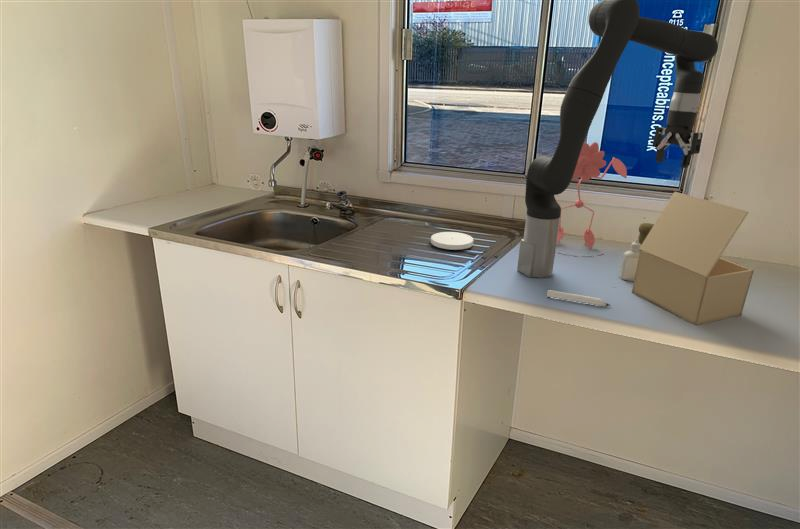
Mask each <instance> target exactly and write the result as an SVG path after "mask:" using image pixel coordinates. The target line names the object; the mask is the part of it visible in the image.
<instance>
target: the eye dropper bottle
mask: <svg viewBox="0 0 800 529" xmlns="http://www.w3.org/2000/svg"><path fill="white" fill-rule="evenodd" d="M630 244H631V245H630V250H627V251H625V252H624V253H623V255H622V260H621V265H620V270H619V275H618V277H619V278H620V279H621V280H624V281H629V282H630V281H631V282H632V281H633V282H634V279H635V274H636V269H637V264H638V259H639V254H640V249H639V248H640V246H641V244H640V243H639V239H638V238H635V240H634V242H631V243H630Z"/></svg>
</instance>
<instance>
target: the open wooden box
mask: <svg viewBox="0 0 800 529" xmlns="http://www.w3.org/2000/svg"><path fill="white" fill-rule="evenodd" d="M754 272H755V270H754V269H752V268H749V267H746V266H743V265H741V264H738V263H735V262H733V261H729V260H727V259H725V258H722V257H720V258H719V259H718V261H717V262H716V264H715V265H714V267H713V268H712V270H711V272H710V273H709V275H708V276H707V277H705V276H702V275H700V274H698V273H695V272H693V271H690V270H688V269H686V268H683V267H681V266H678V265H676V264H674V263H671V262H669V261H666V260H664V259H662V258H659V257H657V256H654V255H652V254H650V253H647V252H645V251H640V254H639V259H638V264H637V269H636V274H635V279H634V281H633V285H632V291H631V293H632V294H634V295H635V296H637V297H640V298H642V299H644V300H646V301H648V302H649V303H650V304H653V305H655V306H656V307H657V306H658V307H659V308H661V309H663V310H665V311H667V310H668V311H667V312H669V313H671V314H672V313H673V314H672V315H674V314H676V315H677V316H676V315H675V316H676V317H678V316H680V317H681V319H682V318H683V319H682V320H684V319H685V320H684V321H686V320H687V321H686V322H688V321H689V322H688V323H690V322H691V323H690V324H692V323H693V324H692V325H694V324H695V325H696V324H697V325H701V323H702V324H707V323H710V322H716V321H719V320H720V321H721V320H724V319H729V318H734V317H738V316H742V314H743V311H744V306H745V303H746V300H747V296H748V293H749V292H748V291H749V289H750V286H751V285H750V284H751V282H752V278H753V276H754ZM680 317H679V318H680ZM695 325H694V326H695Z"/></svg>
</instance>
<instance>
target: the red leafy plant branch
mask: <svg viewBox="0 0 800 529" xmlns="http://www.w3.org/2000/svg"><path fill="white" fill-rule="evenodd" d="M599 150H600V148H599V144H598V142H597V141H595V142H592V143H591V144H590V145H589V143H587V142H585V141H584V143H583V146H582V149H581V152H580V155H579V158H578V162H577V165H576V168H575V171H574V174H573V177H572V180H574V181H576V180H578V179H579V178H580V179H579V181H578V182H577V183H576V184H577V185H576V186H577V187H576V188H577V194H578V196H577V197H578V199H576V200H575V203H574V204H571V205H568V206H565V207H561V210H563V209H567V208H570V207H574V206H575V207H576V208H578V209H581V208H583V207H584V208H585V209H587V210H589V211H591V212H592V216H591V219H590V223H589V227H588V228H586V229H585V230H584V233H583V240H584V245H585V244H586V245H587V247H588V248H590V250H592V249H593V247H594V244H595V234H594V233H593V231H592V230H591V226H592V222H593V219H594V218H593V217H594V214H595V211H594V210H593V209H590V208H589V207H587V206H586V205H584V201H583V200H582V199H581V192H580V191H581V190H580V184H581V182H582V180H583V181H585V182H588V181H590V180H591V178H592V179H598V180H602V179H603V178H604V177H605V175H606V174H607V172H608V170H609V169H610V167H611V166H612V167H613V169H614V171H615V172H616V174H618V175H619V176H621V177H622V178H624V179H627V177H628V175H627V174H628V171H627V168H626V167H627V166H626V165H625V164H624V163H623V161H621V159H619V158H616V157H614V156H613V157H612V160H611V161H610V162H609V164H608V165H607V161H606V160H604V157H605V151H604V150H600V151H599ZM606 165H607V167H606ZM604 167H606V168H605V170H604V172H603V174H601V170H600V169H602V168H604ZM561 220H562V213H561V214H560V222H559V229H558V236H557V243H556V244H558V243H559V242H560V241H561V240H562V239H563V237H564V234H565V230H564V227H563V226H561V225H562V224H561ZM559 254H561V255H562V253H561V252H559ZM563 255H564V256H565V255H566V256H567V254H564V253H563ZM603 255H604V253H602V254H600V255H599V254H598V255H597V257H601V256H603ZM568 256H569V257H570V256H571V257H574V258H575V257H576V258H577V255H570V254H568ZM592 256H593V255H592ZM592 256H591V255H590V256H589V255H588V256H585V255H582V257H581V258H587V257H589V258H593V257H592Z"/></svg>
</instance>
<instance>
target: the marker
mask: <svg viewBox="0 0 800 529" xmlns="http://www.w3.org/2000/svg"><path fill="white" fill-rule="evenodd" d="M547 297H553V298H559V299H564V300H570V301H576V302H581V303H588V304H593V305H598V306H603V307H612V304H609V303H608V302H606V301H604V300H603V299H602V298H601V297H600V298H599V297H595V296H588V295H582V294H576V293H572V292H564V291H558V290H552V289H548V290H547V293H546V298H547Z"/></svg>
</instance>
